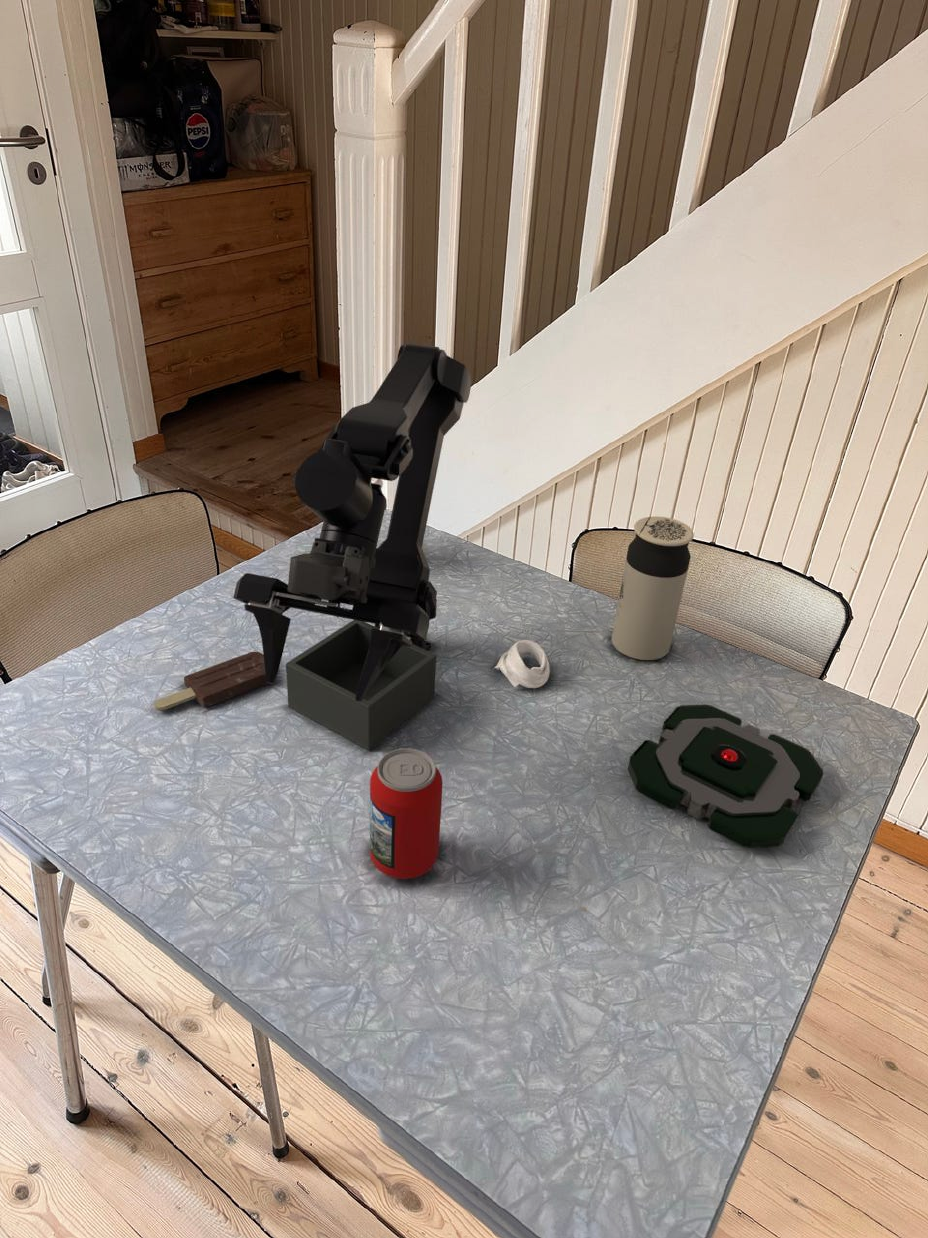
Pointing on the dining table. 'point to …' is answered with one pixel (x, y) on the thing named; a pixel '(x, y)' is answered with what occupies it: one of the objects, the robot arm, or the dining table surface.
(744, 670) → the dining table surface
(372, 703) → the trash bin
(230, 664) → the ice cream bar
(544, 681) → the white bandage roll
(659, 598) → the travel mug
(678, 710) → the clover-shaped pad
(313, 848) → the dining table surface
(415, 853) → the beverage can
